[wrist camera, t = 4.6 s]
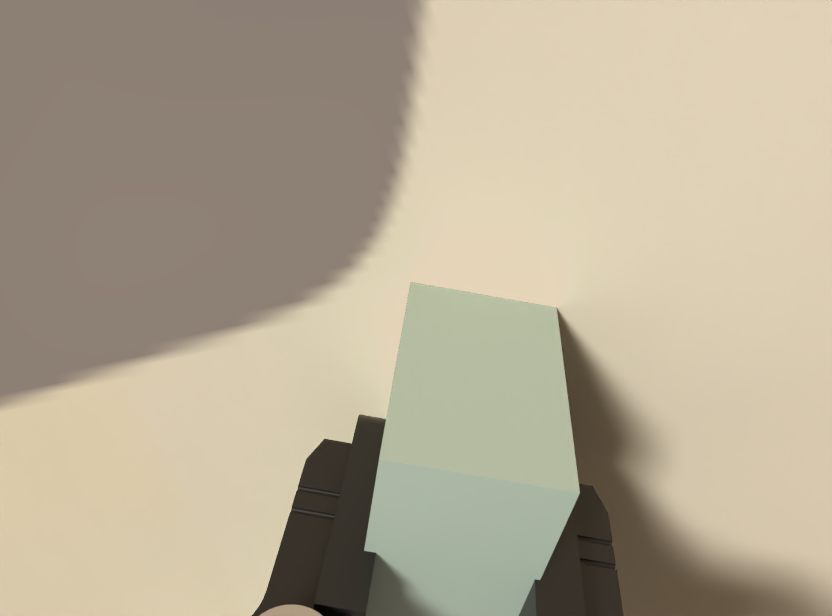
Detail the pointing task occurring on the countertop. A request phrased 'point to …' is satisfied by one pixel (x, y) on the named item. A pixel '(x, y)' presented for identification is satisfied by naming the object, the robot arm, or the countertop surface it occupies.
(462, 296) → the sage stick
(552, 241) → the countertop surface
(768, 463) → the countertop surface
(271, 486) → the countertop surface
